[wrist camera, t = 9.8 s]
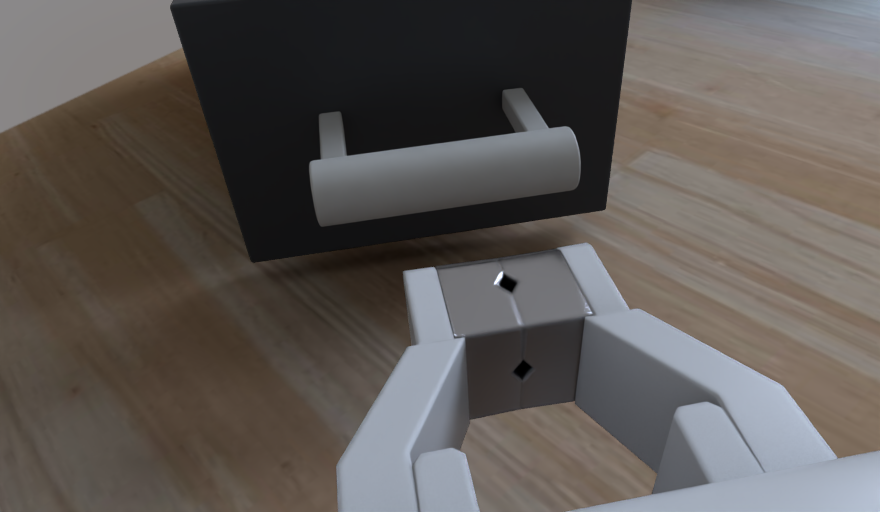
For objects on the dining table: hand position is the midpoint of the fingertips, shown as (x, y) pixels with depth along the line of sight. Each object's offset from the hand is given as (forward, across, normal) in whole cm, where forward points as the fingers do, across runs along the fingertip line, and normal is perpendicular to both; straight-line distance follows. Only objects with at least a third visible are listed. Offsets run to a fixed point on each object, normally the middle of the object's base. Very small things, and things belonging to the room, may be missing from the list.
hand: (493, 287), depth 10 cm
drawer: (+13, 0, -5) cm, 14 cm away
